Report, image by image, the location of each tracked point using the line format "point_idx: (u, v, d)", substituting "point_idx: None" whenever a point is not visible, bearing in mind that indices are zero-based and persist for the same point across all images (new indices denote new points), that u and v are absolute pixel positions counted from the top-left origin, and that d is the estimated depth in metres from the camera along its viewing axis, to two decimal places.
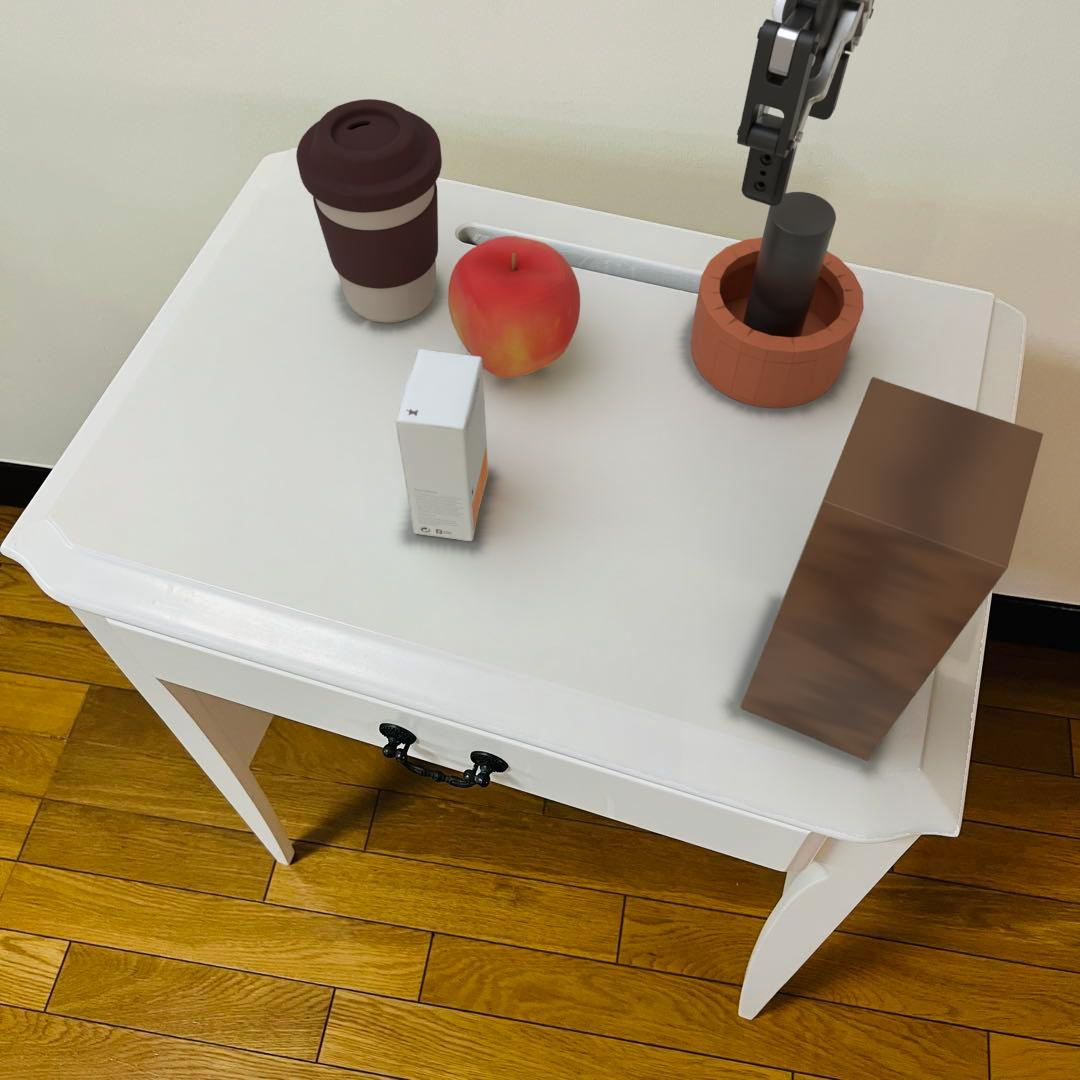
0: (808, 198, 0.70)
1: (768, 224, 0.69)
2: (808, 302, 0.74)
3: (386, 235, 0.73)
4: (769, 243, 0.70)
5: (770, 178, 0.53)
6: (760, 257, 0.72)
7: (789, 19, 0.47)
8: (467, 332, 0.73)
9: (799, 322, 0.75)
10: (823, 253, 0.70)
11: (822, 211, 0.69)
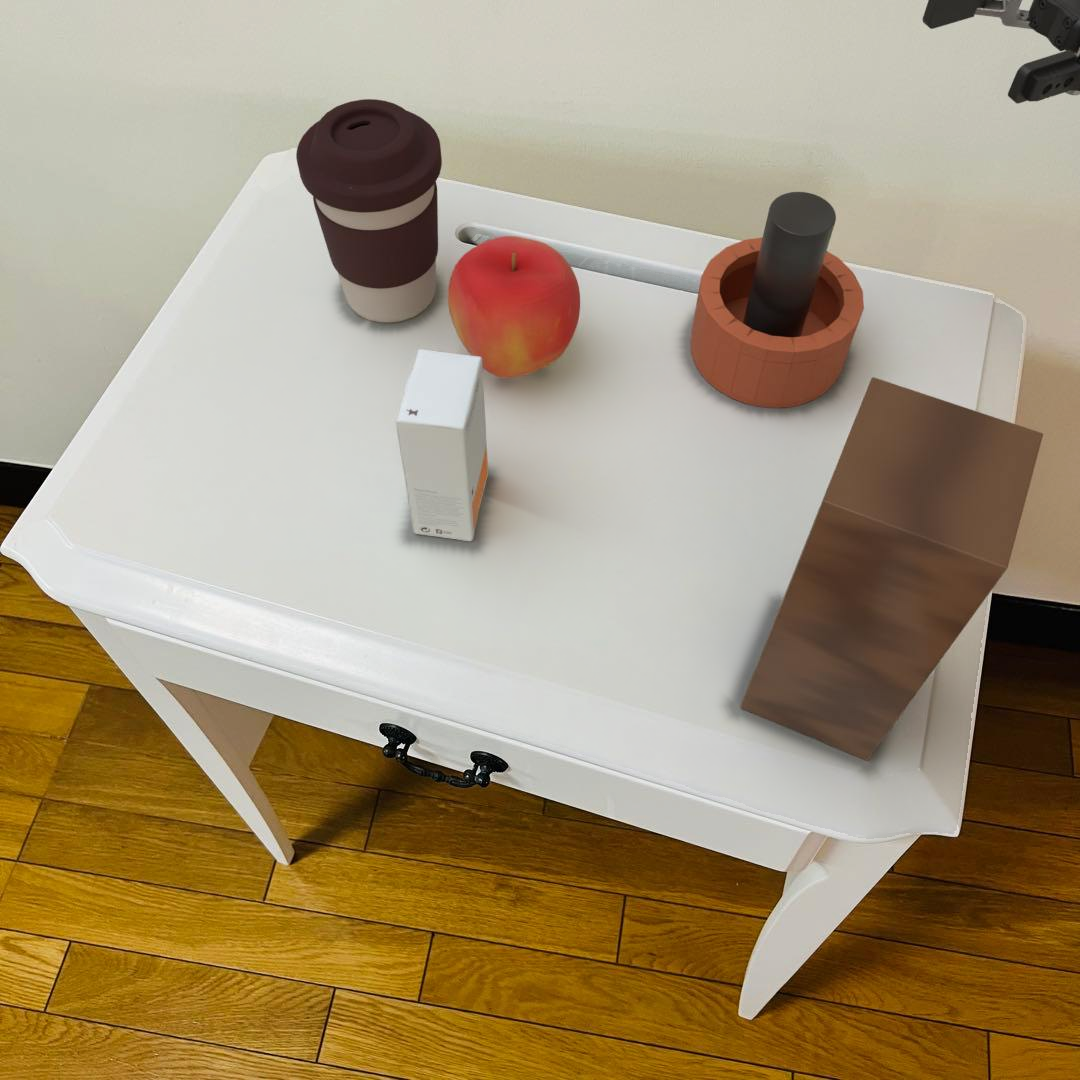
0: (808, 198, 0.70)
1: (768, 224, 0.69)
2: (808, 302, 0.74)
3: (386, 235, 0.73)
4: (769, 243, 0.70)
5: None
6: (760, 257, 0.72)
7: None
8: (467, 332, 0.73)
9: (799, 322, 0.75)
10: (823, 253, 0.70)
11: (822, 211, 0.69)
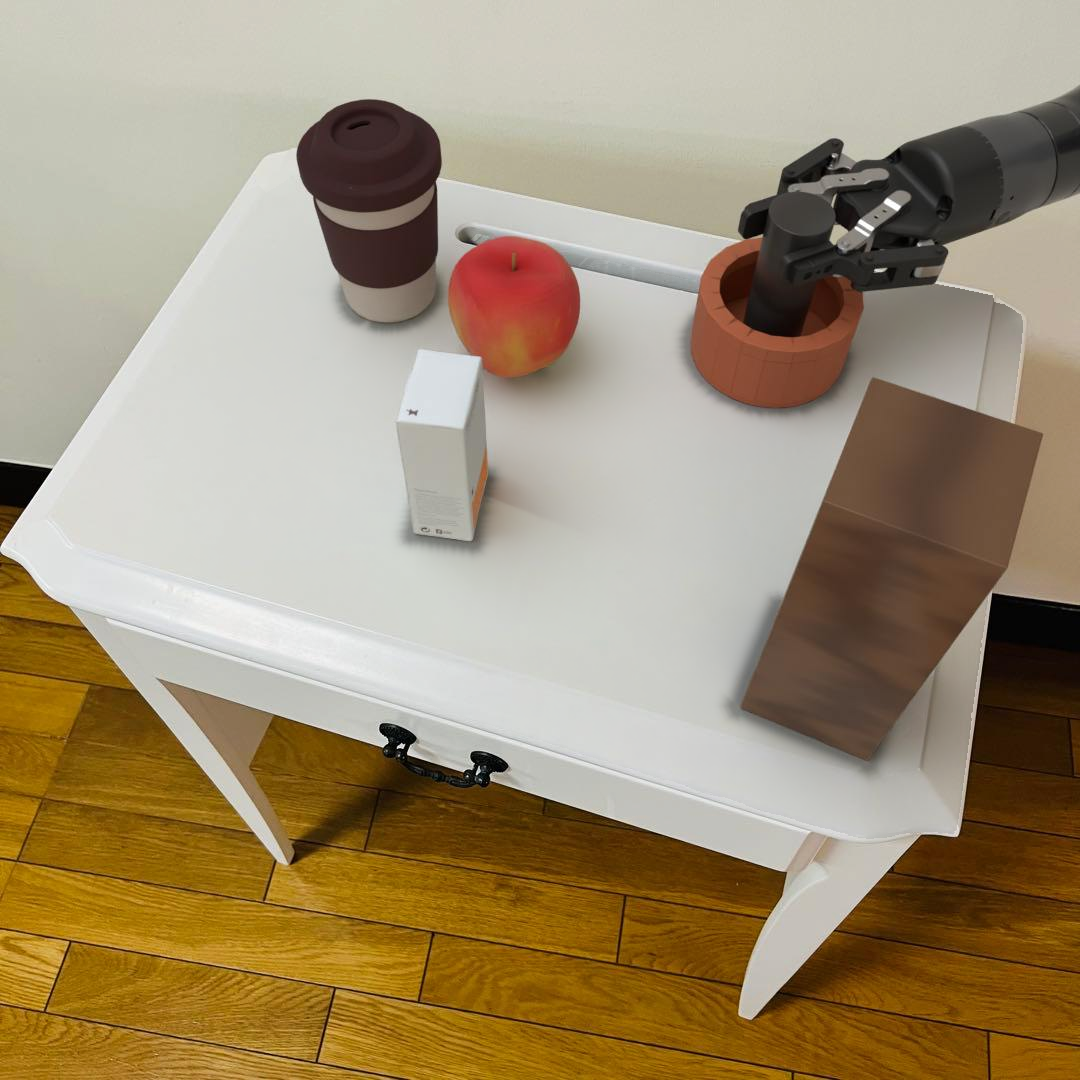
0: (808, 198, 0.70)
1: (768, 224, 0.69)
2: (808, 302, 0.74)
3: (386, 235, 0.73)
4: (769, 243, 0.70)
5: (761, 203, 0.72)
6: (760, 257, 0.72)
7: None
8: (467, 332, 0.73)
9: (799, 322, 0.75)
10: None
11: (822, 211, 0.69)
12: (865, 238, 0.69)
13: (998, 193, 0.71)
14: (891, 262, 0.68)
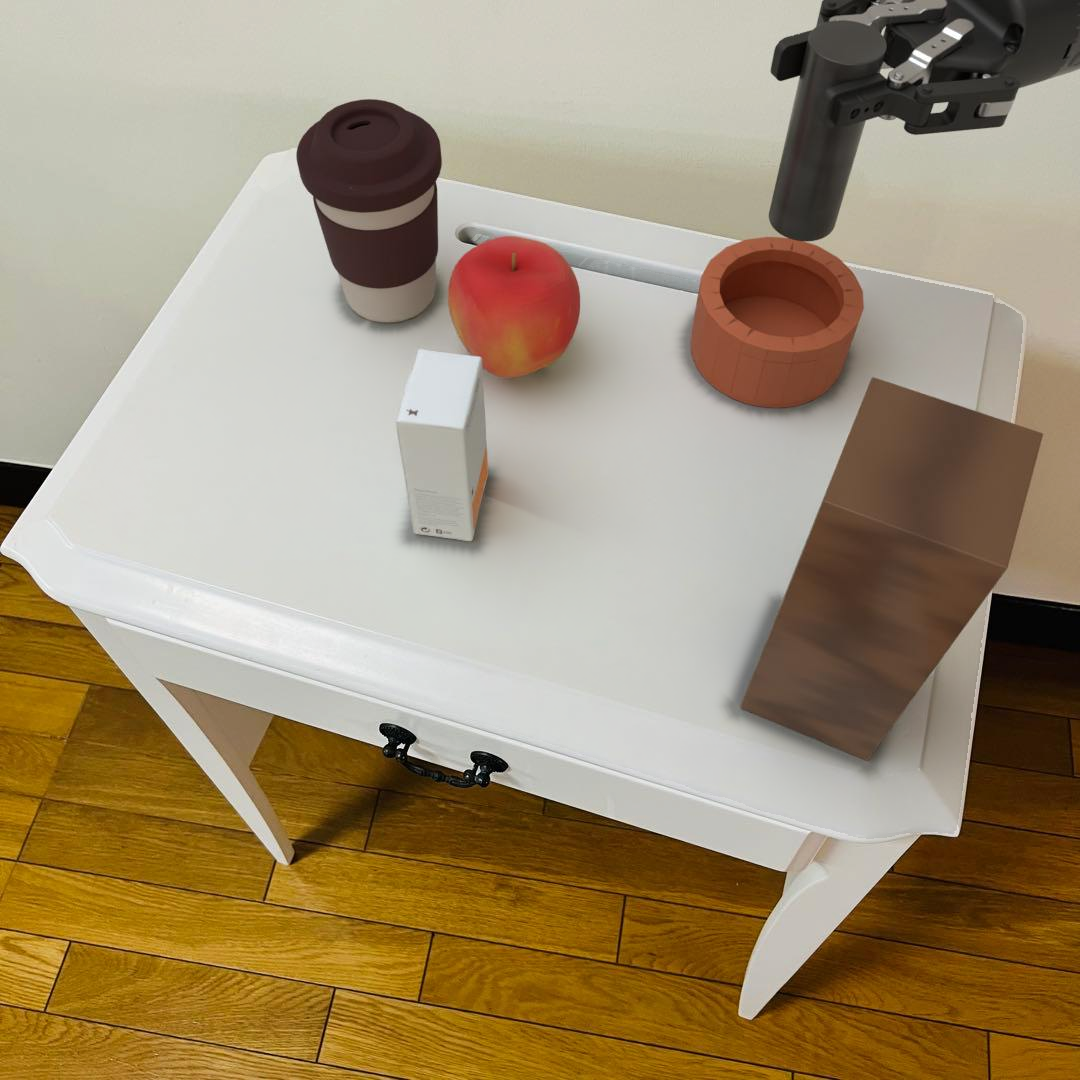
0: (853, 26, 0.60)
1: (807, 56, 0.59)
2: (851, 158, 0.64)
3: (386, 235, 0.73)
4: (808, 79, 0.60)
5: None
6: (796, 101, 0.62)
7: None
8: (467, 332, 0.73)
9: (840, 184, 0.65)
10: None
11: (870, 39, 0.59)
12: (921, 70, 0.59)
13: (1075, 22, 0.61)
14: (953, 94, 0.58)
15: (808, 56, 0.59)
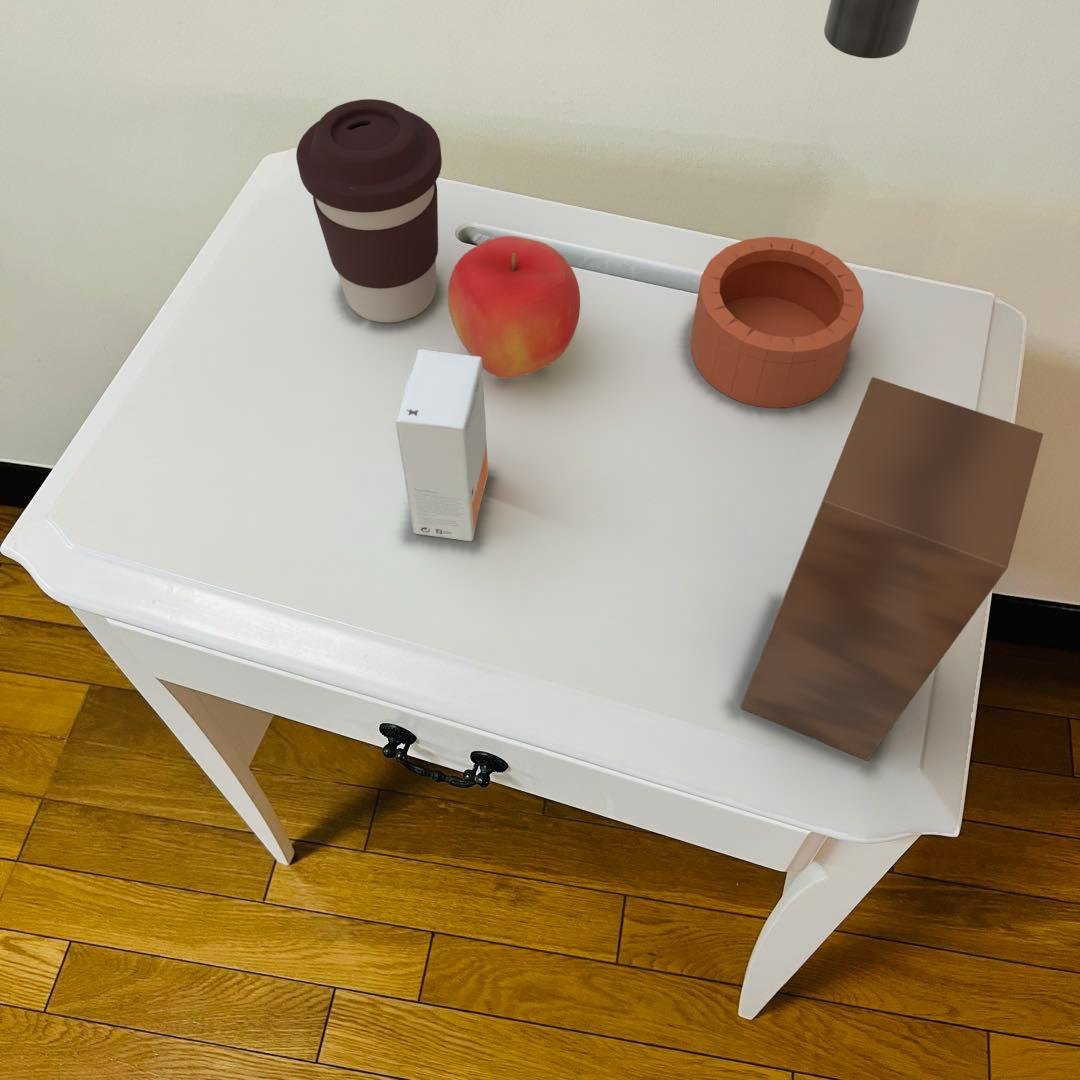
0: None
1: None
2: None
3: (386, 235, 0.73)
4: None
5: None
6: None
7: None
8: (467, 332, 0.73)
9: None
10: None
11: None
12: None
13: None
14: None
15: None
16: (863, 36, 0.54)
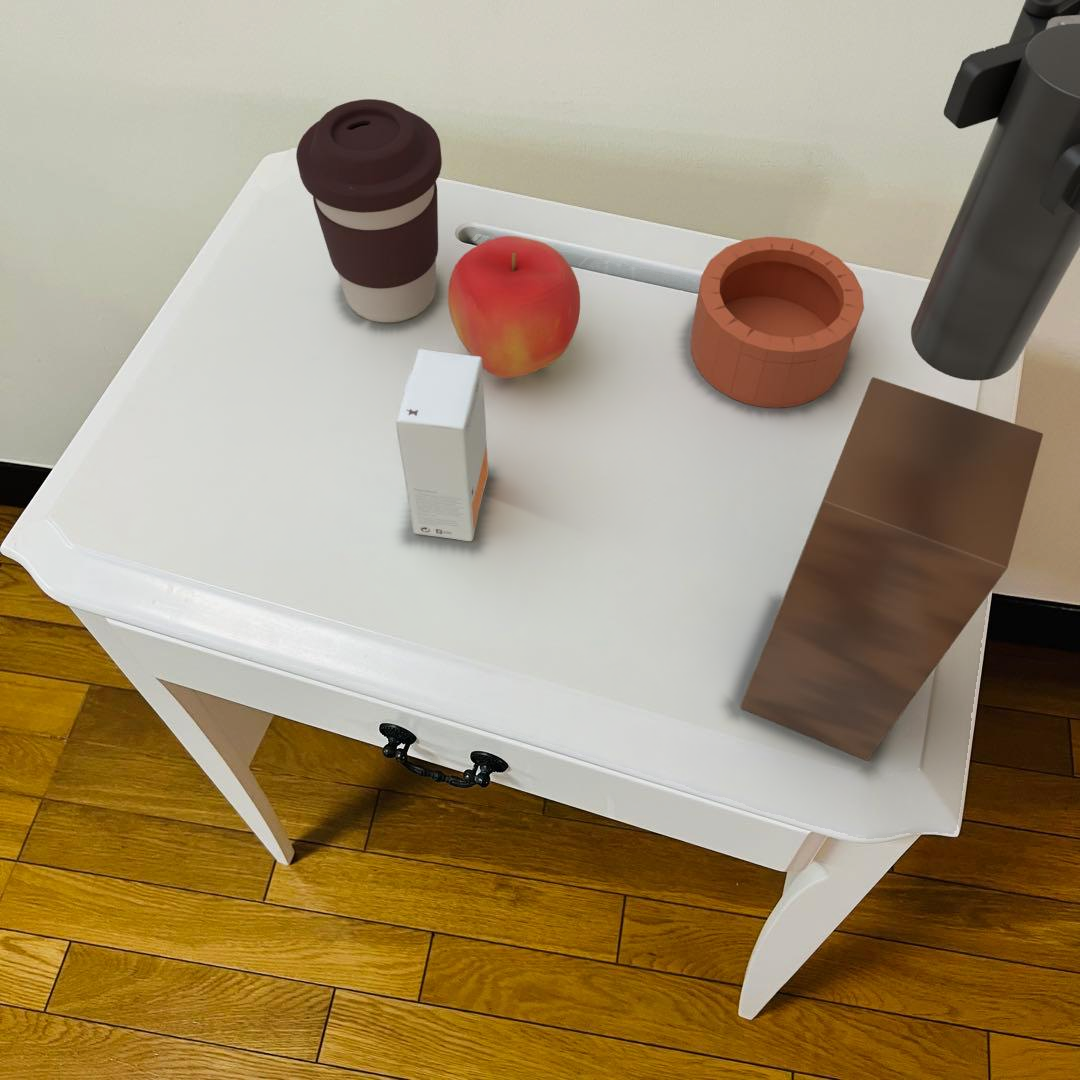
0: None
1: (1023, 87, 0.33)
2: (1073, 256, 0.38)
3: (386, 235, 0.73)
4: (1021, 128, 0.34)
5: None
6: (990, 163, 0.36)
7: None
8: (467, 332, 0.73)
9: (1048, 297, 0.39)
10: None
11: None
12: None
13: None
14: None
15: (1025, 88, 0.33)
16: (967, 358, 0.41)
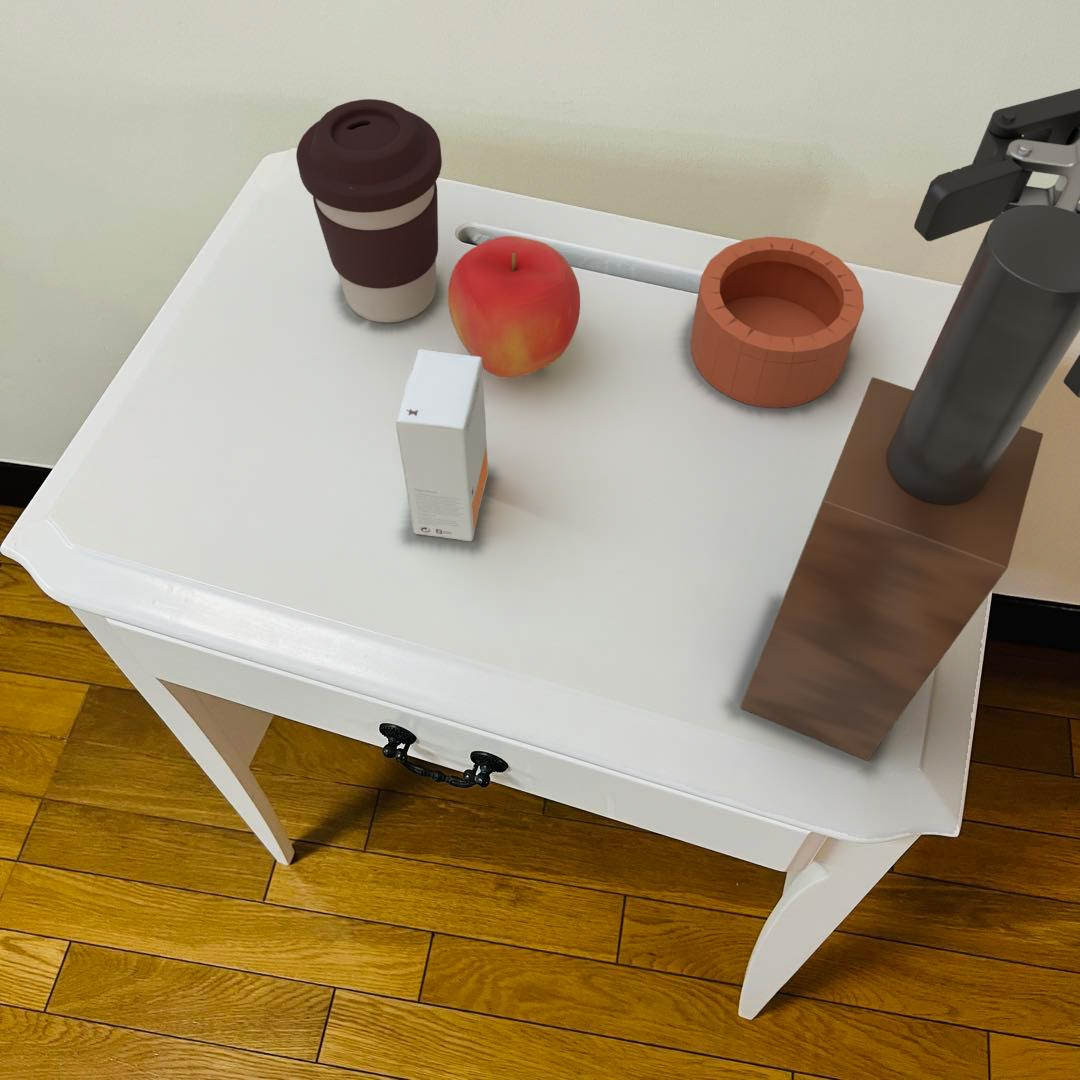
0: (1058, 217, 0.37)
1: (984, 267, 0.36)
2: (1033, 404, 0.41)
3: (386, 235, 0.73)
4: (982, 302, 0.37)
5: None
6: (955, 325, 0.39)
7: None
8: (467, 332, 0.73)
9: (1010, 437, 0.42)
10: None
11: None
12: None
13: None
14: None
15: (986, 268, 0.36)
16: (937, 487, 0.44)
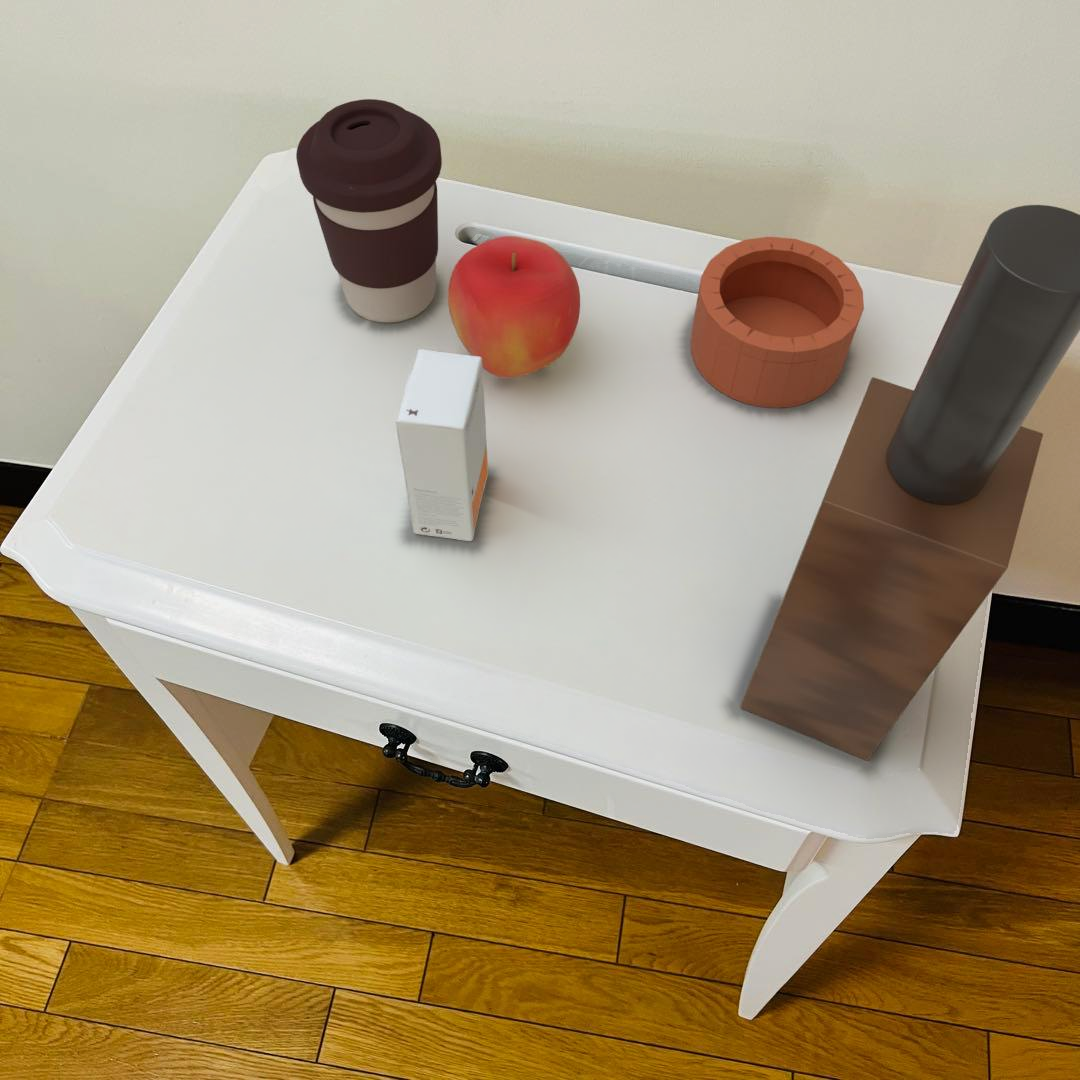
0: (1058, 217, 0.37)
1: (984, 267, 0.36)
2: (1033, 404, 0.41)
3: (386, 235, 0.73)
4: (982, 302, 0.37)
5: None
6: (955, 325, 0.39)
7: None
8: (467, 332, 0.73)
9: (1010, 437, 0.42)
10: None
11: None
12: None
13: None
14: None
15: (986, 268, 0.36)
16: (937, 487, 0.44)
